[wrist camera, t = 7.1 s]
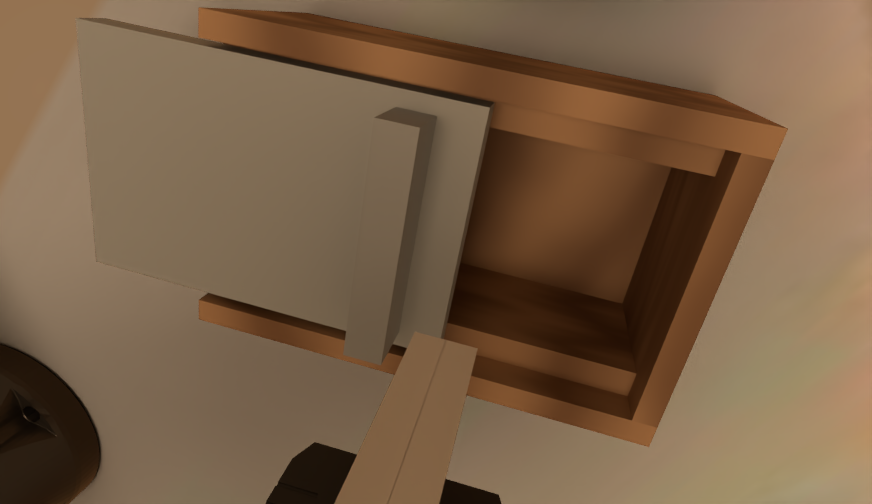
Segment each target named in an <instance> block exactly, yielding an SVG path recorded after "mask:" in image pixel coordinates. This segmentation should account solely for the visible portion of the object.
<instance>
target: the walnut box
mask: <svg viewBox="0 0 872 504" xmlns="http://www.w3.org/2000/svg"><path fill="white" fill-rule="evenodd" d="M199 37H200V38H204V39H209V40H214V41H218V42H223V44H226V45H231V46H236V47H240V48H245V49H250V50H254V51H259V52H264V53H268V54H273V55H278V56H282V57H287V58H292V59H296V60H301V61H305V62H310V63H315V64H319V65H324V66H329V67H333V68H338V69H343V70H347V71H352V72H357V73H361V74H366V75H370V76H375V77H380V78H384V79H389V80H394V81H398V82H403V83H408V84H412V85H417V86H422V87H426V88H431V89H435V90H440V91H445V92H449V93H454V94H459V95H463V96H468V97H473V98H477V99H482V100H487V101H491V102H495V104H494V109H493V113H492V118H491V123H490V127H489V132H488V137H487V141H486V146H485V150H484V155H483V160H482V164H481V169H480V174H479V178H478V183H477V187H476V192H475V197H474V201H473V206H472V211H471V215H470V220H469V224H468V229H467V234H466V238H465V243H464V247H463V252H462V257H461V261H460V266H459V271H458V275H457V280H456V284H455V289H454V294H453V298H452V303H451V308H450V312H449V317H448V321H447V326H446V331H445V335H444V340H448V341H452V342H456V343H459V344H463V345H467V346H471V347H474V348H478V349H477V353H476V357H475V361H474V365H473V369H472V373H471V377H470V382H469V386H468V390H467V394H466V395H468V396H472V397H475V398H479V399H482V400H486V401H489V402H493V403H496V404H500V405H503V406H507V407H510V408H514V409H517V410H521V411H524V412H528V413H531V414H535V415H539V416H542V417H546V418H549V419H553V420H556V421H560V422H563V423H567V424H570V425H574V426H577V427H581V428H584V429H588V430H591V431H595V432H598V433H602V434H605V435H609V436H613V437H616V438H620V439H623V440H627V441H630V442H634V443H637V444H641V445H644V446H648V447H649V445H650V443H651V441H652V438H653V436H654V434H655V432H656V429H657V427H658V425H659V422H660V420H661V418H662V416H663V413H664V411H665V409H666V406H667V404H668V402H669V400H670V397H671V395H672V393H673V390H674V388H675V386H676V384H677V381H678V379H679V377H680V374H681V372H682V370H683V368H684V365H685V363H686V361H687V358H688V356H689V354H690V352H691V349H692V347H693V345H694V342H695V340H696V338H697V336H698V333H699V331H700V329H701V326H702V324H703V322H704V320H705V317H706V315H707V313H708V310H709V308H710V306H711V304H712V301H713V299H714V297H715V294H716V292H717V290H718V288H719V285H720V283H721V281H722V278H723V276H724V274H725V272H726V269H727V267H728V265H729V262H730V260H731V258H732V256H733V253H734V251H735V249H736V246H737V244H738V242H739V240H740V237H741V235H742V233H743V230H744V228H745V226H746V224H747V221H748V219H749V217H750V214H751V212H752V210H753V208H754V205H755V203H756V201H757V198H758V196H759V194H760V192H761V189H762V187H763V185H764V182H765V180H766V178H767V176H768V173H769V171H770V169H771V166H772V164H773V162H774V160H775V157H776V155H777V153H778V150H779V148H780V146H781V144H782V141H783V139H784V137H785V134H786V132H787V130H788V129H787V128H785V127H783V126H781V125H779V124H776V123H774V122H772V121H770V120H768V119H765V118H763V117H761V116H759V115H757V114H755V113H752V112H750V111H748V110H746V109H744V108H742V107H739V106H737V105H735V104H733V103H731V102H728V101H726V100H724V99H722V98H720V97H718V96H715V95H710V94H705V93H700V92H695V91H690V90H685V89H680V88H675V87H670V86H665V85H660V84H655V83H650V82H646V81H641V80H636V79H631V78H626V77H621V76H616V75H611V74H606V73H601V72H596V71H591V70H586V69H581V68H576V67H571V66H566V65H561V64H556V63H551V62H546V61H542V60H537V59H532V58H527V57H522V56H517V55H512V54H507V53H502V52H497V51H492V50H487V49H482V48H477V47H472V46H467V45H462V44H457V43H452V42H447V41H442V40H438V39H433V38H428V37H423V36H418V35H413V34H408V33H403V32H398V31H393V30H388V29H383V28H378V27H373V26H368V25H363V24H358V23H353V22H348V21H343V20H338V19H334V18H329V17H324V16H319V15H314V14H309V13H297V12H277V11H258V10H239V9H219V8H200V7H199ZM199 319H200V320H204V321H207V322H211V323H214V324H218V325H221V326H225V327H228V328H232V329H235V330H239V331H242V332H246V333H250V334H253V335H257V336H260V337H264V338H267V339H271V340H274V341H278V342H281V343H285V344H288V345H292V346H295V347H299V348H302V349H306V350H309V351H313V352H316V353H320V354H324V355H327V356H331V357H334V358H338V359H341V360H345V361H348V362H352V363H355V364H359V365H362V366H366V367H369V368H373V369H376V370H380V371H383V372H387V373H391V374H394V375H395V373H396V371H397V369H398V367H399V365H400V362H401V360H402V358H403V356H404V354H405V352H406V350H407V348H405V347H402V346H398V345H395V344H392V346H391V348H390V350H389V351H388V353H387V355H386V357H385V359H384V361H383V362H382V364H381V365H377V364H374V363H370V362H367V361H363V360H360V359H356V358H352V357H349V356H345V355H343V352H344V344H345V336H346V331H344V330H341V329H337V328H333V327H330V326H326V325H323V324H319V323H315V322H312V321H308V320H305V319H301V318H298V317H294V316H290V315H287V314H283V313H280V312H276V311H272V310H269V309H265V308H262V307H258V306H254V305H251V304H247V303H244V302H240V301H236V300H233V299H229V298H226V297H222V296H218V295H215V294H211V293H208V294H206V295H205V296H204V297H202V298H201V299H200V300H199Z"/></svg>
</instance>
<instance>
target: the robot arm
mask: <svg viewBox="0 0 872 504" xmlns="http://www.w3.org/2000/svg"><path fill="white" fill-rule="evenodd" d="M477 349H478V348H474V347H471V346H467V345H463V344H459V343H456V342H452V341H448V340H444V339H441V338H437V337H433V336H429V335H426V334H422V333H418V332H415V333H414V335H413V337H412V339H411V341H410V343H409V345H408V347H407V350H406V352H405V354H404V356H403V358H402V360H401V362H400V365H399V367H398V369H397V371H396V373H395V375H394V377H393V379H392V382H391V384H390V386H389V388H388V390H387V392H386V394H385V397H384V399H383V401H382V403H381V405H380V407H379V409H378V411H377V414H376V416H375V418H374V420H373V422H372V424H371V426H370V429H369V431H368V433H367V435H366V437H365V439H364V441H363V443H362V446H361V448H360V450H359V452H358V454H357V455H356V454H353V453H350V452H346V451H343V450H339V449H336V448H333V447H329V446H326V445H323V444H319V443H316V442H314V443H313V444H312V445H310V446H309V447H308V448H306V449H305V450H304V451H302V452H301V453H299V454H298V455H297V456H295V457H294V458H293V459H292V460H291V462H290V463H289V465H288V467H287V468H286V470H285V472H284V473H283V475H282V476H281V478H280V480H279V481H278V485H277V486H275V488H274V490H273V491H272V493H271V494H270V496H269V498H268V499H267V501H266V504H501V501H500V498H499V495H498V494H494V493H491V492H488V491H484V490H481V489H477V488H474V487H471V486H467V485H464V484H460V483H457V482H454V481H450V480H447V479H446V475H447V471H448V467H449V463H450V458H451V454H452V450H453V446H454V442H455V438H456V434H457V430H458V426H459V422H460V418H461V414H462V410H463V406H464V402H465V398H466V394H467V390H468V386H469V382H470V377H471V373H472V369H473V365H474V361H475V357H476V353H477ZM98 466H99V446H98V441H97V437H96V434H95V431H94V428H93V426H92V424H91V421H90V420H89V418H88V416H87V414H86V412H85V411H84V409H83V407H82V406H81V404H80V403H79V402H78V400H77V399H76V398H75V396H74V395H73V394H72V393H71V392H70V390H69V389H68V388H67V387H66V386H65V385H64V384H63V383H62V382H61V381H60V380H59V379H58V378H57V377H56V376H55V375H53V374H52V373H51V372H50V371H49V370H47V369H46V368H45V367H43V366H42V365H41V364H39V363H38V362H36V361H35V360H33V359H31V358H30V357H28V356H26V355H24V354H22V353H20V352H18V351H16V350H14V349H11V348H9V347H6V346H3V345H0V504H69V503H70V502H71V501H72V500H73V499H74V498H75V497H77V496H78V495H79V494H80V493H81V492H82V491H83V490H84V489H85V488H86V487H87V486H88V485H89V484H90V483H91V482H92V480H93V479H94V477H95V475H96V473H97V470H98Z"/></svg>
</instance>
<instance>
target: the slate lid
mask: <svg viewBox="0 0 872 504" xmlns="http://www.w3.org/2000/svg"><path fill="white" fill-rule="evenodd" d="M76 29H77V41H78V53H79V64H80V76H81V88H82V100H83V111H84V123H85V135H86V147H87V159H88V170H89V182H90V194H91V206H92V218H93V229H94V241H95V253H96V262H100V263H103V264H107V265H110V266H114V267H118V268H121V269H125V270H128V271H132V272H136V273H139V274H143V275H146V276H150V277H154V278H157V279H161V280H164V281H168V282H172V283H175V284H179V285H182V286H186V287H190V288H193V289H197V290H200V291H204V292H208V293H211V294H215V295H218V296H222V297H226V298H229V299H233V300H236V301H240V302H244V303H247V304H251V305H254V306H258V307H262V308H265V309H269V310H272V311H276V312H280V313H283V314H287V315H290V316H294V317H298V318H301V319H305V320H308V321H312V322H315V323H319V324H323V325H326V326H330V327H333V328H337V329H341V330H344V331H346V336H345V344H344V352H343V355H345V356H349V357H352V358H356V359H360V360H363V361H367V362H370V363H374V364H377V365H381V364H382V362H383V361H384V359H385V357H386V355H387V353H388V351H389V350H390V348H391V346H392V344H395V345H398V346H402V347H405V348H407V347H408V345H409V343H410V341H411V339H412V337H413V335H414V333H415V332H418V333H422V334H426V335H429V336H433V337H437V338H441V339H444V335H445V331H446V326H447V321H448V317H449V312H450V308H451V303H452V298H453V294H454V289H455V284H456V280H457V275H458V271H459V266H460V261H461V257H462V252H463V247H464V243H465V238H466V234H467V229H468V224H469V220H470V215H471V211H472V206H473V201H474V197H475V192H476V187H477V183H478V178H479V174H480V169H481V164H482V160H483V155H484V150H485V146H486V141H487V137H488V132H489V127H490V123H491V118H492V113H493V109H494V104H495V102H491V101H487V100H482V99H477V98H473V97H468V96H463V95H459V94H454V93H449V92H445V91H440V90H435V89H431V88H426V87H422V86H417V85H412V84H408V83H403V82H398V81H394V80H389V79H384V78H380V77H375V76H370V75H366V74H361V73H357V72H352V71H347V70H343V69H338V68H333V67H329V66H324V65H319V64H315V63H310V62H305V61H301V60H296V59H292V58H287V57H282V56H278V55H273V54H268V53H264V52H259V51H254V50H250V49H245V48H240V47H236V46H231V45H226V44H222V43H217V42H213V41H208V40H203V39H199V38H194V37H189V36H185V35H180V34H175V33H171V32H166V31H161V30H157V29H152V28H148V27H143V26H138V25H134V24H129V23H124V22H120V21H115V20H110V19H106V18H76Z"/></svg>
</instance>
